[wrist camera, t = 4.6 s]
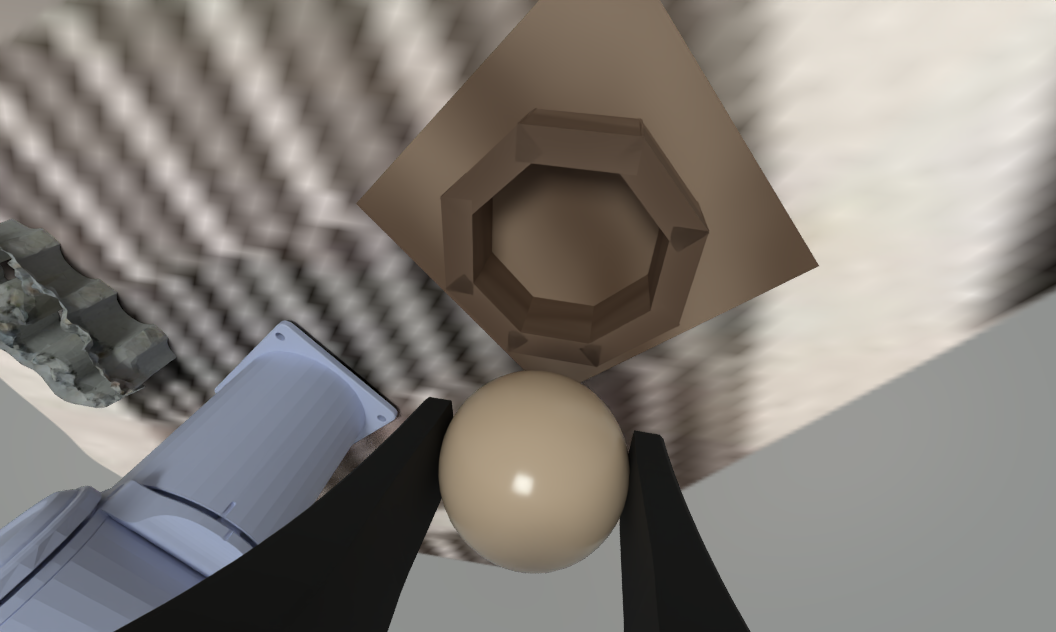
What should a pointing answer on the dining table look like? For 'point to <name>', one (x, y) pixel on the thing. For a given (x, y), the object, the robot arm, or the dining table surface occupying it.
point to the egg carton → (71, 324)
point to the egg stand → (588, 192)
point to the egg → (534, 471)
